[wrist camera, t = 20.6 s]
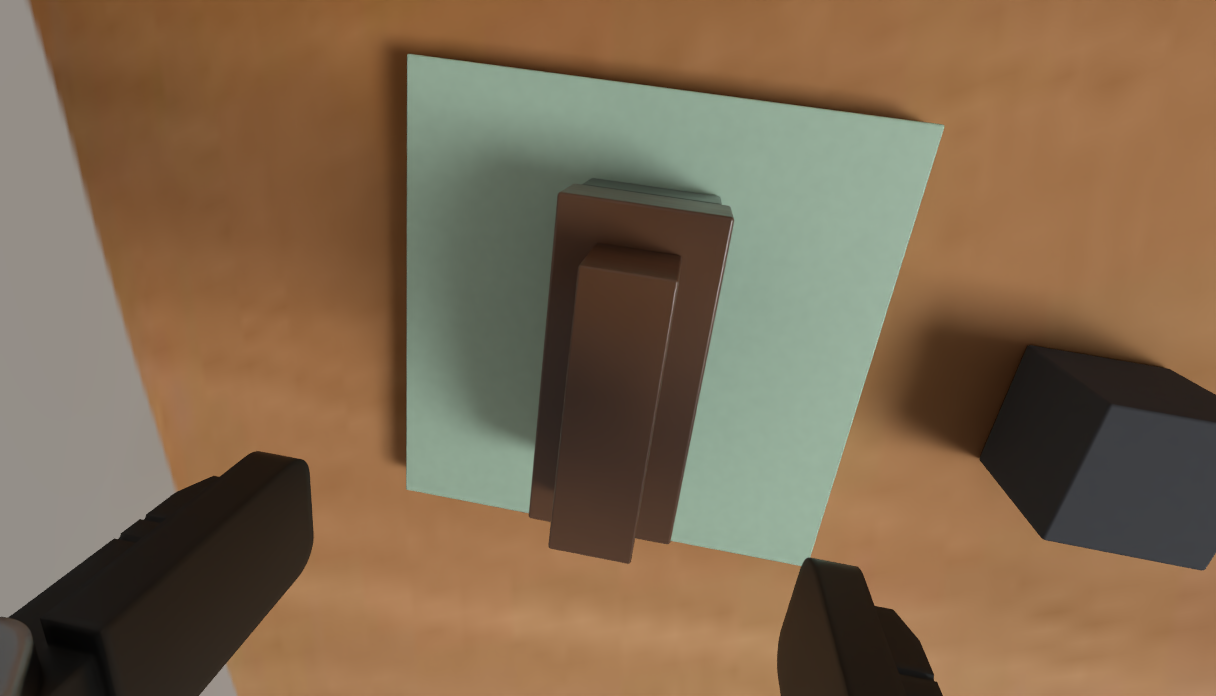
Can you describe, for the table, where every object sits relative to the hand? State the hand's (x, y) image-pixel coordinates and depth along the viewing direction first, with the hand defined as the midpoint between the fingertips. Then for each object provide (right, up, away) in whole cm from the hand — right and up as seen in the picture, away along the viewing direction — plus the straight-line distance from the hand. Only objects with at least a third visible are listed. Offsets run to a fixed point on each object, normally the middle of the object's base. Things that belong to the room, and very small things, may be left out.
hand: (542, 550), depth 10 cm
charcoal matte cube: (+13, +1, +7) cm, 15 cm away
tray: (+2, +4, +10) cm, 11 cm away
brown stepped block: (+2, +4, +9) cm, 10 cm away
